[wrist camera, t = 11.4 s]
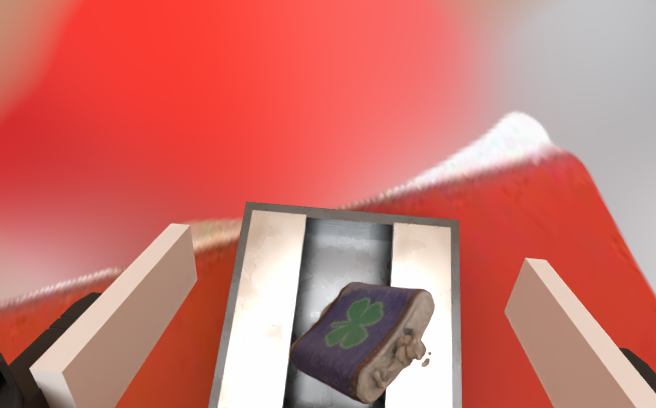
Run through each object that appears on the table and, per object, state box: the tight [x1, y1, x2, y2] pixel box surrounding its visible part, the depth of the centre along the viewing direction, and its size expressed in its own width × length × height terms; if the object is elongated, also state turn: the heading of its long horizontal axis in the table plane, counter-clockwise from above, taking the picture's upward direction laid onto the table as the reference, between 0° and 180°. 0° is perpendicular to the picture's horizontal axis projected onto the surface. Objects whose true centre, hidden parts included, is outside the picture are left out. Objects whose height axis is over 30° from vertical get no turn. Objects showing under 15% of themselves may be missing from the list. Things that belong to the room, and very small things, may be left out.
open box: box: [208, 202, 462, 408], centre depth 33 cm, size 20×20×9 cm
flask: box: [288, 282, 435, 404], centre depth 26 cm, size 9×3×11 cm
